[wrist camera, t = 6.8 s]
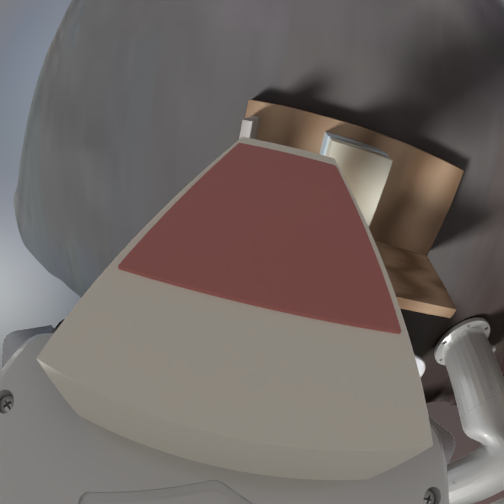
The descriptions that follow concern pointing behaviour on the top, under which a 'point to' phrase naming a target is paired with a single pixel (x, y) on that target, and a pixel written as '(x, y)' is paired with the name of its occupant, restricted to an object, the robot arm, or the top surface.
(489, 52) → the top surface
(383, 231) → the shelf
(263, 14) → the top surface
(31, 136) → the top surface
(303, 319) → the boxed book
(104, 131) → the top surface
